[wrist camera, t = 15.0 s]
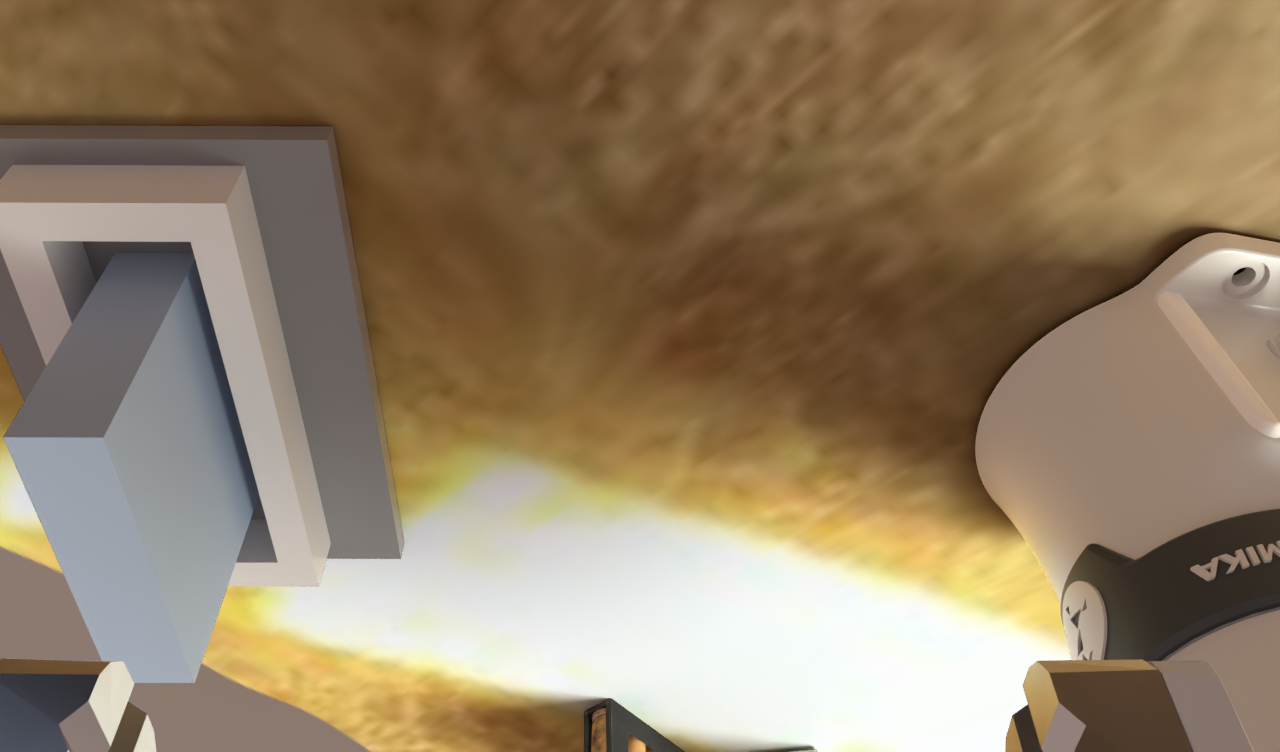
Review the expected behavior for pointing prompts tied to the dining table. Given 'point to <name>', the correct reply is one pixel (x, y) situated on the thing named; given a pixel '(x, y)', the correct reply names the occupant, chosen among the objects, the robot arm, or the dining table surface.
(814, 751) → the skincare box
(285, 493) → the track base
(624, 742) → the ammunition clip
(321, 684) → the dining table surface
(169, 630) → the door panel
